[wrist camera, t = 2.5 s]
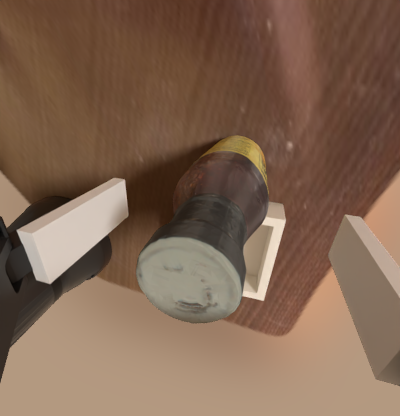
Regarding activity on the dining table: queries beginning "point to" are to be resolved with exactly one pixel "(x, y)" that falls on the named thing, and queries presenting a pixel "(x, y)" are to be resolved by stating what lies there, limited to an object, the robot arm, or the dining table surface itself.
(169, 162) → the dining table surface
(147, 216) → the dining table surface
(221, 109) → the dining table surface
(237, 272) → the sauce bottle
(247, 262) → the square white tray
